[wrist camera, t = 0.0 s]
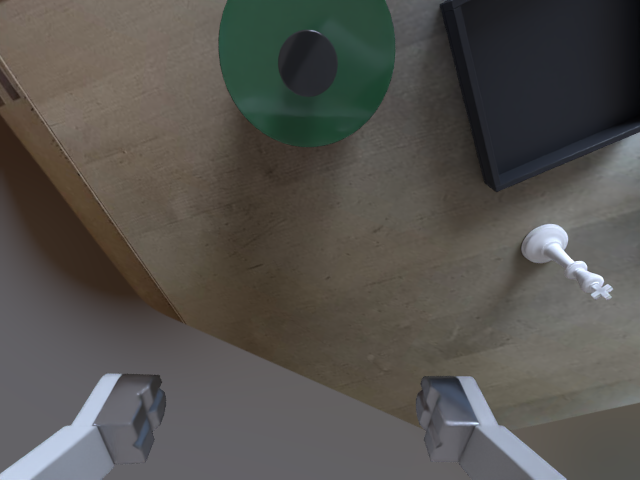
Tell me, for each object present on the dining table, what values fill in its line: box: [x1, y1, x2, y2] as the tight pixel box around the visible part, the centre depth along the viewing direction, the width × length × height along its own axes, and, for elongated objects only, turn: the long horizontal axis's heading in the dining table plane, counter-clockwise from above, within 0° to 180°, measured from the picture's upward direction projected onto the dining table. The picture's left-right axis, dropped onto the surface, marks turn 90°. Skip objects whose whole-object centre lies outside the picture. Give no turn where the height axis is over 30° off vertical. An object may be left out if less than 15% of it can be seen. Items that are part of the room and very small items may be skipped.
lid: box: [219, 0, 395, 147], centre depth 19 cm, size 11×11×9 cm
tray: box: [440, 0, 640, 192], centre depth 29 cm, size 17×15×3 cm
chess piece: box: [521, 224, 613, 300], centre depth 35 cm, size 5×5×10 cm
